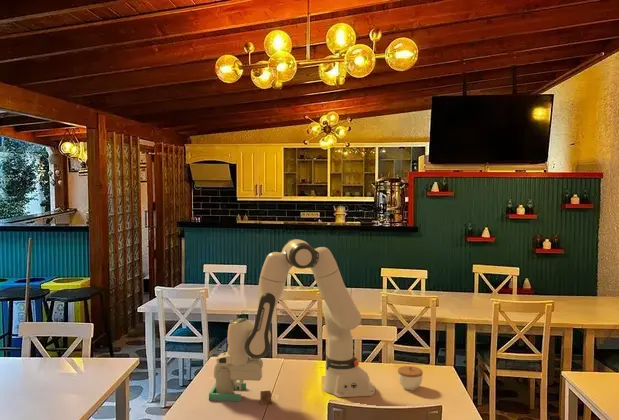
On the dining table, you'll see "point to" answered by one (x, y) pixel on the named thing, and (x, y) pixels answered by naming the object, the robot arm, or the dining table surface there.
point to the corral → (226, 397)
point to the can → (224, 382)
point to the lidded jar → (410, 377)
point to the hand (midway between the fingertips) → (238, 389)
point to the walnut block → (265, 397)
